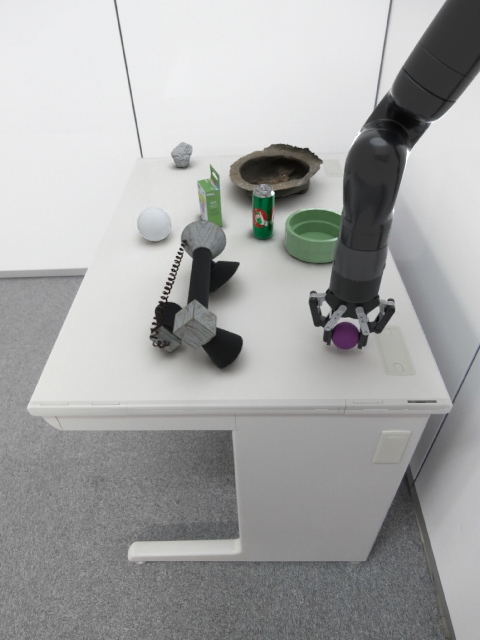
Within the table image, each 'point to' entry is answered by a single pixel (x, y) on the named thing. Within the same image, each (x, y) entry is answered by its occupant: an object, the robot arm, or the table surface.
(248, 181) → the stone bowl
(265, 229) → the soda can
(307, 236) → the green bowl
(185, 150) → the grey muffin
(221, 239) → the telephone
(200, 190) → the ink box
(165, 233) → the ball
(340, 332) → the plum ball
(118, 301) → the table surface
